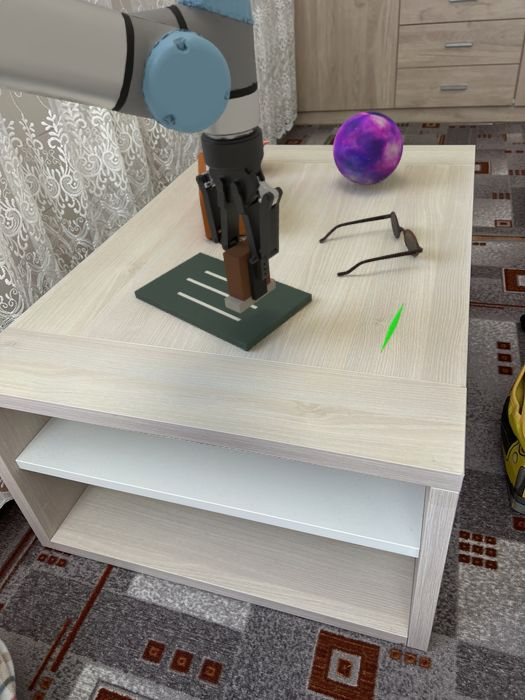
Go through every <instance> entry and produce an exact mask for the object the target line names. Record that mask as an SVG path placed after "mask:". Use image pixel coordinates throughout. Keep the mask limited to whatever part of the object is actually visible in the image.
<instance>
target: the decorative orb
mask: <svg viewBox="0 0 525 700" xmlns="http://www.w3.org/2000/svg"><path fill="white" fill-rule="evenodd" d="M403 153H404V140H403V134H402V131H401V130H400V127H399V126H398V124H397V123H396V122H395V121H394V120H393V119H392V118H391V117H389V116H388V115H386V114H385V113H382V112H379V111H372V110H371V111H368V110H367V111H362V112H359V113H356V114H353V115H352V116H351V117H349V118H347V119H346V121H344V122H343V124H342V125H340V127H339V129H338V130H337V132H336V134H335V137H334V139H333V146H332V156H333V162H334V163H335V166H336V168H337V170H338V171H339V173H340V174H341V176H343V177H344V178H345V179H347V180H348V181H350V182H352V183H354V184H357V185H362V186H369V185H375V184H378V183H380V182H382V181H384V180H386V179H387V178H388V177H390V176H391V175H392V174H393V173H394V172H395V171H396V169H397V168H398V166H399V164H400V162H401V160H402V157H403Z"/></svg>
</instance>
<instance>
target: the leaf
mask: <svg viewBox="0 0 525 700" xmlns="http://www.w3.org/2000/svg"><path fill="white" fill-rule="evenodd" d="M403 307H404V302H403V303H402V305H401V306H400V308H399V309H398V310H397V312H396V314H395V316H394V317H393V319H392V321H391V323H390V324H389V328H388V330H387V332H386V335H385V338H384V341H383V344H382V347H381V352H380V353H383V351H384V349H385V347H386V345H387V344H388V342H389V341H390V339H391V337H392V336H393V334H394V332H395V330H396V328H397V325H398V323H399V320H400V317H401V314H402V311H403Z"/></svg>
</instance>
